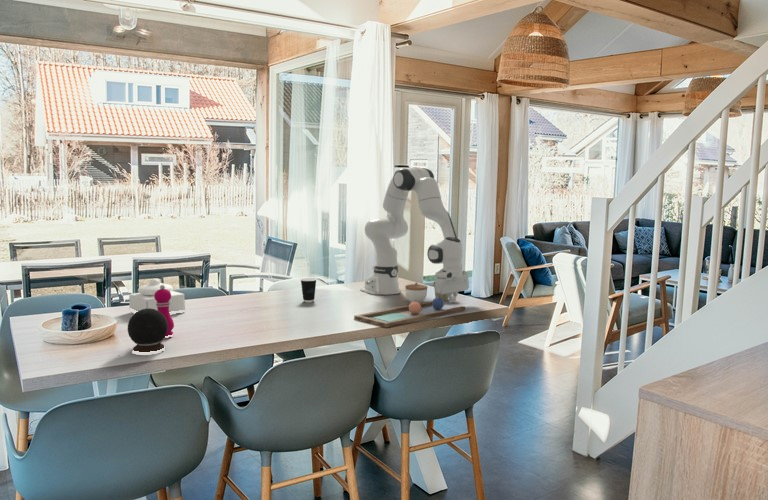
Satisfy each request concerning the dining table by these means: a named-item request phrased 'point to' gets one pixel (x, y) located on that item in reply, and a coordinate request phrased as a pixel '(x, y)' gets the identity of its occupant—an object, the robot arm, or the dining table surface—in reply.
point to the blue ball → (438, 303)
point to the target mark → (391, 317)
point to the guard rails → (367, 318)
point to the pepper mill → (164, 306)
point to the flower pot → (443, 296)
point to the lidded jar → (416, 292)
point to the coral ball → (414, 307)
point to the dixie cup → (308, 289)
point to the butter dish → (148, 301)
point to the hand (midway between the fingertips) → (452, 301)
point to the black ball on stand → (147, 330)
